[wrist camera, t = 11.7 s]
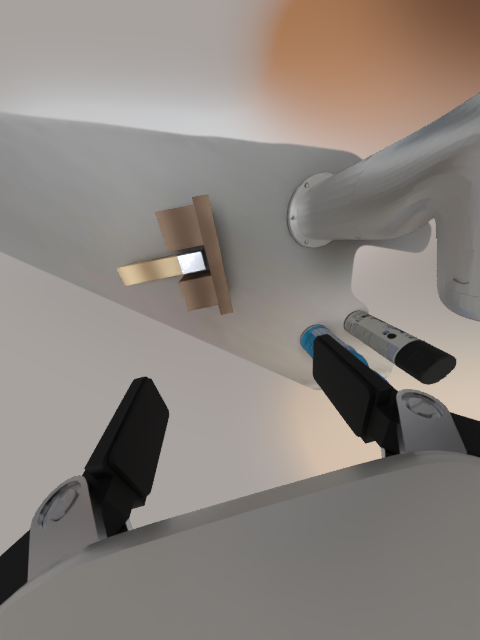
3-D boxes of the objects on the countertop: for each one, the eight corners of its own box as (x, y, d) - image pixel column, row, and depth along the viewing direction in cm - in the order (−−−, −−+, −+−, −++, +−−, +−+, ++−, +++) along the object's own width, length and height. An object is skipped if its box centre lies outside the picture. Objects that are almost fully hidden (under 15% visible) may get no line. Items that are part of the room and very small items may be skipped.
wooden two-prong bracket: (209, 209, 32) (208, 194, 21) (227, 291, 39) (233, 312, 28) (166, 217, 31) (142, 206, 20) (192, 299, 38) (184, 322, 28)
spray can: (370, 316, 48) (465, 362, 30) (353, 335, 50) (432, 389, 32) (355, 306, 46) (447, 349, 28) (338, 326, 48) (414, 379, 30)
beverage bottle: (323, 318, 46) (394, 369, 28) (330, 340, 49) (398, 398, 32) (294, 333, 46) (347, 392, 29) (304, 354, 50) (356, 418, 32)
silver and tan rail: (202, 249, 34) (200, 251, 29) (206, 264, 36) (205, 269, 30) (131, 263, 34) (116, 268, 28) (138, 278, 35) (125, 285, 29)
